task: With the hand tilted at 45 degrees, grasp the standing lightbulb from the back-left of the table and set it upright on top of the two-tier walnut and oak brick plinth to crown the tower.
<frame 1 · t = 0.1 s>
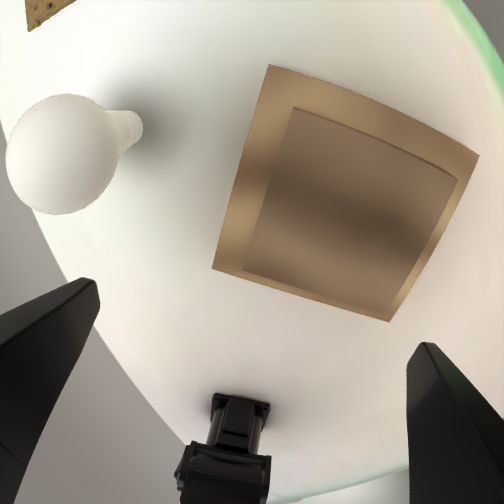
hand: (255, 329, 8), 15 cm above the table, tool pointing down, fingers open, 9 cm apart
lightbulb: (133, 125, 20), on the table
plinth: (342, 200, 21), on the table
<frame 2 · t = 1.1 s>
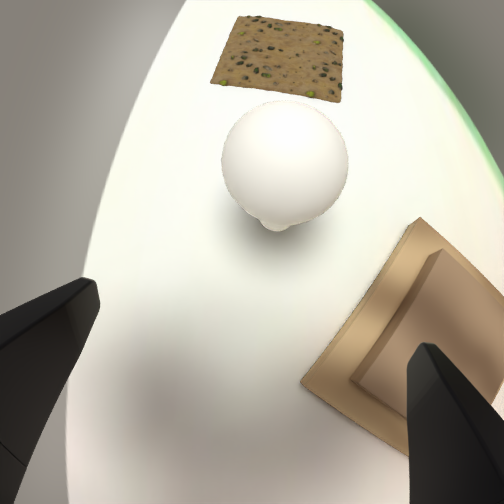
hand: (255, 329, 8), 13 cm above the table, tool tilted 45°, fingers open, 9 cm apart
cookie: (282, 55, 28), on the table
lightbulb: (275, 218, 23), on the table
plinth: (429, 354, 20), on the table
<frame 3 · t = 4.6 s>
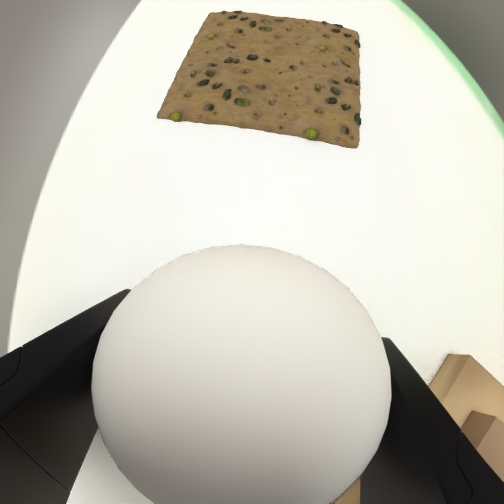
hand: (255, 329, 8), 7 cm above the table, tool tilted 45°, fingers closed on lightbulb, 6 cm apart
cookie: (270, 68, 19), on the table
lightbulb: (249, 360, 14), on the table, touching gripper
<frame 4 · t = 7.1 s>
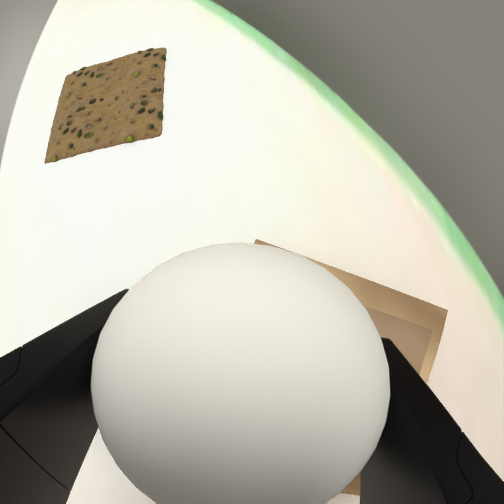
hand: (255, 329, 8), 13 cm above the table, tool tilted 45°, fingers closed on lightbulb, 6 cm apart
cookie: (106, 103, 26), on the table
lightbulb: (248, 358, 14), point 6 cm above the table, touching gripper
plinth: (318, 379, 20), on the table
when the fingers open (11 cm above the table, at t = 9.5 s): lightbulb stays where it is, resting on plinth.
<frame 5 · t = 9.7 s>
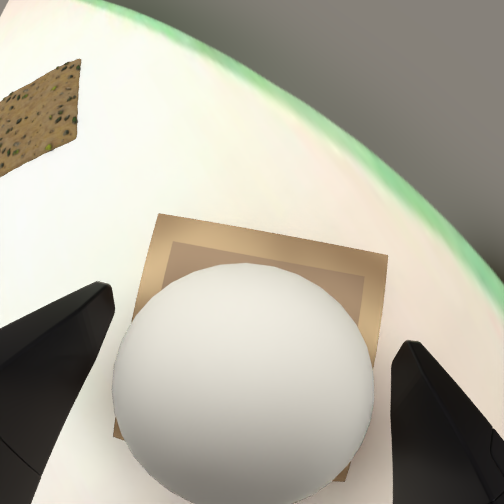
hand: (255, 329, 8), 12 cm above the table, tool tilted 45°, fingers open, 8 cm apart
cookie: (31, 120, 25), on the table
lightbulb: (247, 359, 15), point 4 cm above the table, touching plinth
plinth: (250, 353, 19), on the table
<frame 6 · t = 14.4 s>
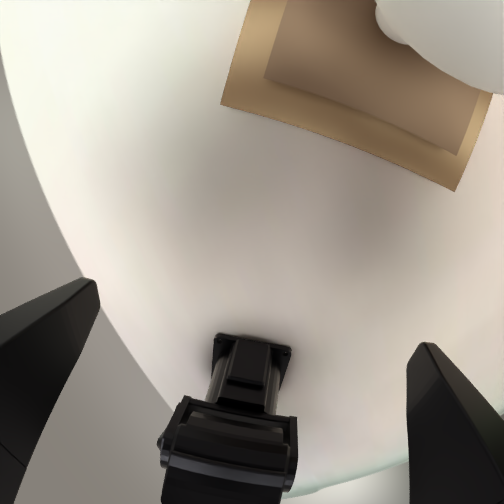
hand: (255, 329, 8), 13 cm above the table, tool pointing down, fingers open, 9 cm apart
lightbulb: (396, 22, 11), point 4 cm above the table, touching plinth
plinth: (380, 32, 14), on the table
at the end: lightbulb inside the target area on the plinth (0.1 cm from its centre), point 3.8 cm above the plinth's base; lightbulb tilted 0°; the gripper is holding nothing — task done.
